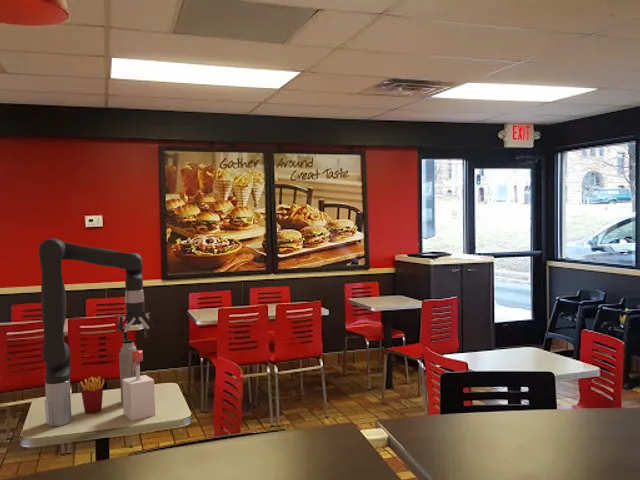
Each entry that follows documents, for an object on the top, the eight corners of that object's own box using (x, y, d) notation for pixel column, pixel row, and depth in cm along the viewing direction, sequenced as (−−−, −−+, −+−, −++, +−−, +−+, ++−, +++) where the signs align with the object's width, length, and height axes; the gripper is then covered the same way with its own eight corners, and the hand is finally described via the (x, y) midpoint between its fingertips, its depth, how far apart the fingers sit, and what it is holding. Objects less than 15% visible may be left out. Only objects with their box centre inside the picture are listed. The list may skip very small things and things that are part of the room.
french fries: (95, 414, 254) (94, 379, 254) (78, 414, 256) (76, 379, 255) (107, 408, 263) (105, 374, 262) (90, 407, 265) (88, 373, 264)
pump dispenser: (131, 420, 246) (130, 384, 245) (123, 414, 254) (122, 379, 253) (155, 415, 252) (154, 379, 251) (146, 409, 260) (145, 374, 259)
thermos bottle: (143, 400, 272) (141, 339, 270) (128, 405, 265) (125, 342, 264) (132, 397, 277) (130, 337, 275) (117, 402, 270) (115, 340, 269)
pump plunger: (135, 400, 250) (133, 353, 249) (131, 398, 253) (130, 351, 252) (145, 398, 252) (144, 351, 251) (142, 396, 256) (140, 349, 255)
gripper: (120, 303, 244) (122, 343, 244) (154, 299, 252) (156, 338, 253) (114, 301, 250) (116, 340, 250) (148, 298, 258) (149, 335, 259)
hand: (136, 339), depth 252 cm, fingers open, 8 cm apart
